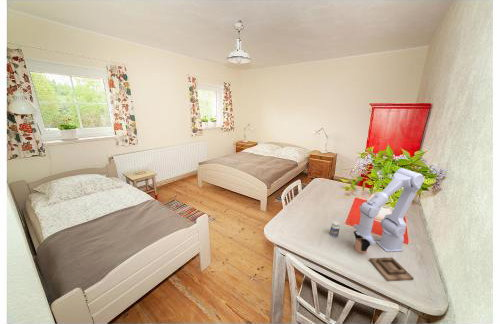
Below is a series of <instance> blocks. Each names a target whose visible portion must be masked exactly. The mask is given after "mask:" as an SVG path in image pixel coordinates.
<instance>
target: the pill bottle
mask: <svg viewBox="0 0 500 324" xmlns="http://www.w3.org/2000/svg"><path fill="white" fill-rule="evenodd" d="M340 226H341V225H340V222H339V221H336V220H333V221H332V222H331V225H330V230H329V235H330V237H333V238H339V233H340V228H341V227H340Z"/></svg>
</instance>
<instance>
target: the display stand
mask: <svg viewBox="0 0 500 324" xmlns="http://www.w3.org/2000/svg"><path fill="white" fill-rule="evenodd" d="M368 261H369V262H370V263H371V264H372V265H373V266H374V268H375V269H376V270H377V271H378V272H379V274H380V275H381V276H382V277H383V278H384V279H385V280H386V281H387V282H398V281H399V282H403V281H414V276H412V275H411V274H410V273H409V272H408V271H407V270H406V269H405V268H404V267H403V266H402V265H401V264H400V263H399V262H398V261H397V260H396V259H395V258H393V257H390V256H389V257H370V258H369V260H368Z"/></svg>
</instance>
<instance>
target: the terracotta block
mask: <svg viewBox="0 0 500 324" xmlns="http://www.w3.org/2000/svg"><path fill="white" fill-rule="evenodd" d="M361 239H365V238H355V243H354V244H355V245H354V249H355V250H356V251H357V253H359V254H367V252H368V251H367V250H368V249H367V250H366V251H362V250H361V247H362V242H361Z"/></svg>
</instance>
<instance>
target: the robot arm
mask: <svg viewBox="0 0 500 324" xmlns="http://www.w3.org/2000/svg"><path fill="white" fill-rule="evenodd" d="M424 181H425V177H424V175H423V174H422V173H418V172H415V171H412V170H409V169H406V168H405V167H400V168H399V169H397V170H396V171H395V172H394V173H393V179H391V180H390V182H389V183H388V184H387V186H385V188H384V189H383V190H382V191H378V192H376V193H375V194H374V195H373V196H372V197H370V199H369V200H368V201H366V202H365V201H364V202H362V203H361V205H360V206H359V211H360V213H359V214H360V219H359V223H358V224H353V228H354V229H356V230H355V231H354V230H353V235H354V237H355V239H356V238H364V239H361V242H362V247H361V250H362V251H366V250H368V248H369V247H370V246H376V244H378V246H380V247H381V248H382V249H383V250H384V251H385V252H388V253H390V252H403V251H404V250H403V249H402V248H403V245H404V242H405V241H404V240H405V238H404V235H405V233H406V228H407V226H408V224H407V223H406V222H405V220H404V218H405V216H406V215H407V212H408V210H409V208H410V206H411V204H412V202H413V200H414V198H415V196H416V194H417V192H418V191H419V190H420V189H421V188H422V185H423V184H424ZM401 187H403V189H402V191H401V193H400V194H399V198H398V199H397V200H396V203H395V205H394V208H393V209H392V211H391V213H389V214H385V215H384V217H383V218H382V219H381V221H380V227H381V229H382V233H381V237H380V238H381V239H380V240H376V241H375V239H374V237H373V236H372V234H371V233H372V230H373V227H374V226H373V225H374V221H375V218H376V217H377V216H378V215H379V213H380V211H381V208H382V207H384V206H385V205H386V203H388V202H389V197H390V196H391V195H393V194H394V193H395V192H397V191H398V190H399V189H400V188H401Z"/></svg>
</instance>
